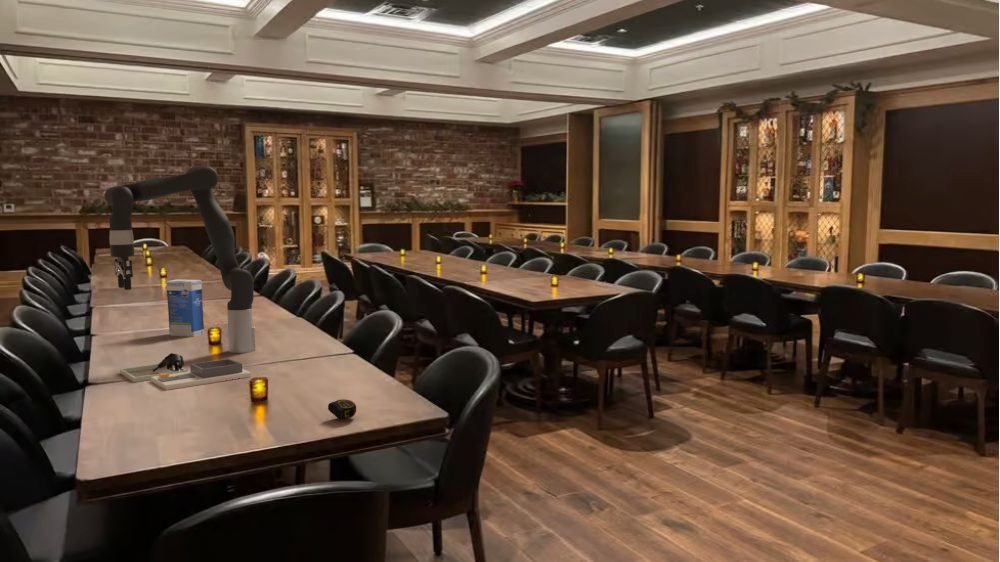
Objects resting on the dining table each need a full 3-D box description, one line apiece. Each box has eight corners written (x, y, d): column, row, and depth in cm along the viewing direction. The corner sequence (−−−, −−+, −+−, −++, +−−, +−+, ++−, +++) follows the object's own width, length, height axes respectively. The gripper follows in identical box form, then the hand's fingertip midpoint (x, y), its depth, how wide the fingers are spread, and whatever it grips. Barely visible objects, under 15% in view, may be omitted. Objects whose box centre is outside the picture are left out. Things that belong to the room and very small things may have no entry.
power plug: (158, 371, 263) (185, 353, 262) (162, 388, 259) (189, 369, 258) (146, 366, 259) (173, 347, 258) (150, 383, 254) (177, 364, 253)
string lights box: (204, 336, 332) (202, 279, 329) (193, 339, 324) (191, 281, 322) (180, 335, 335) (177, 279, 333) (168, 338, 328) (165, 280, 325)
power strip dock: (233, 368, 265) (233, 356, 265) (251, 376, 253) (250, 363, 253) (151, 381, 247) (150, 368, 247) (166, 390, 235) (165, 376, 235)
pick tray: (172, 366, 270) (171, 362, 270) (188, 374, 257) (188, 370, 257) (119, 373, 259) (119, 369, 259) (133, 382, 246) (133, 377, 245)
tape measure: (326, 412, 205) (327, 400, 204) (348, 409, 209) (349, 397, 209) (337, 423, 200) (338, 410, 199) (359, 419, 204) (360, 406, 203)
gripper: (138, 243, 256) (141, 289, 258) (128, 241, 267) (131, 286, 269) (114, 244, 251) (118, 291, 253) (105, 242, 262) (108, 287, 264)
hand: (124, 288), depth 261 cm, fingers open, 8 cm apart
